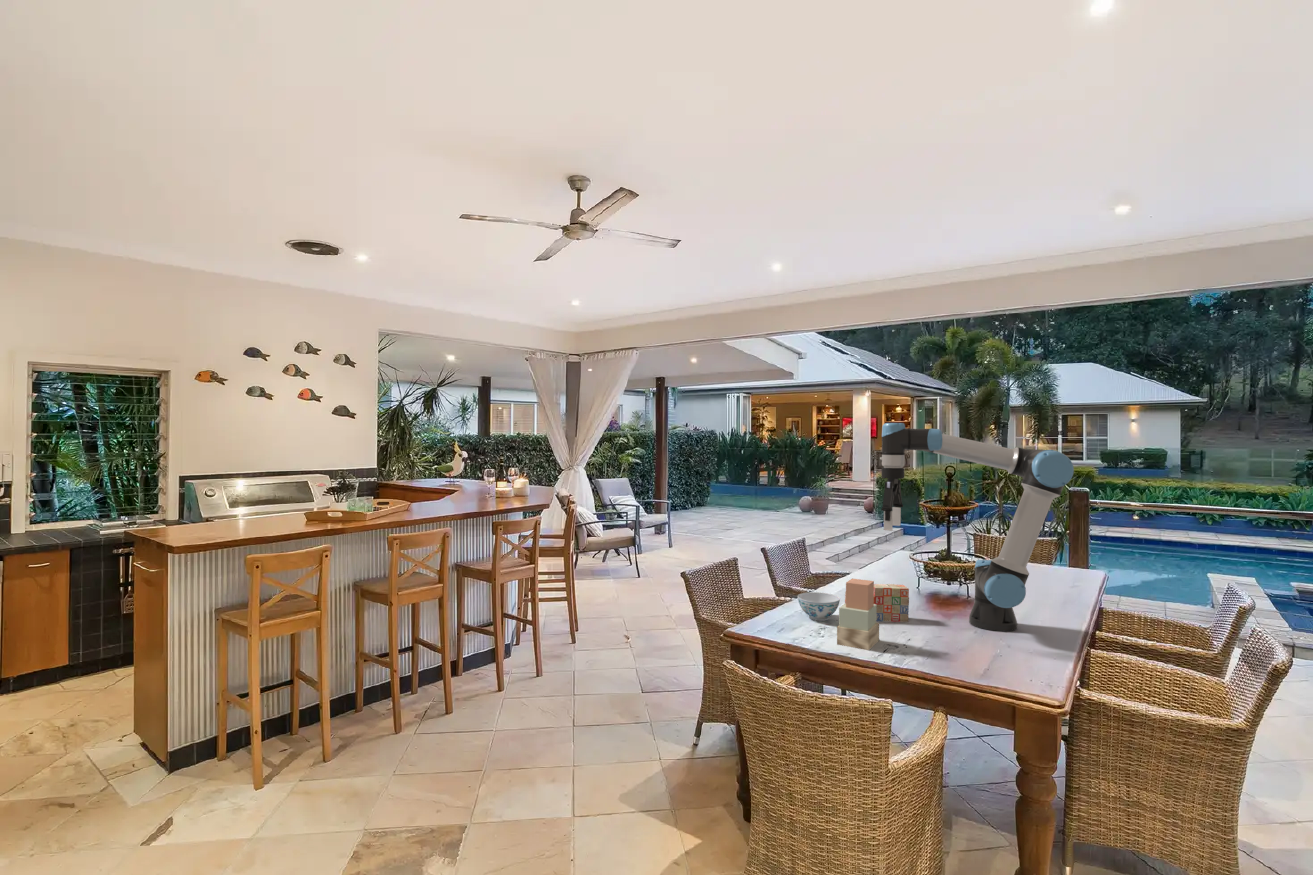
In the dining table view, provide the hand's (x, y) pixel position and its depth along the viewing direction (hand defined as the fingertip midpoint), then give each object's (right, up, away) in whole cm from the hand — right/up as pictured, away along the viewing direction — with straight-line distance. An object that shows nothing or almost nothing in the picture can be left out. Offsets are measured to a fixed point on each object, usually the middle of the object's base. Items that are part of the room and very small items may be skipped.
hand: (892, 527), depth 230 cm
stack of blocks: (-2, -35, +11) cm, 37 cm away
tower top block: (-17, -29, -17) cm, 38 cm away
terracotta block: (-17, -23, -17) cm, 33 cm away
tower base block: (-17, -35, -17) cm, 42 cm away
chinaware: (-23, -35, +11) cm, 43 cm away
